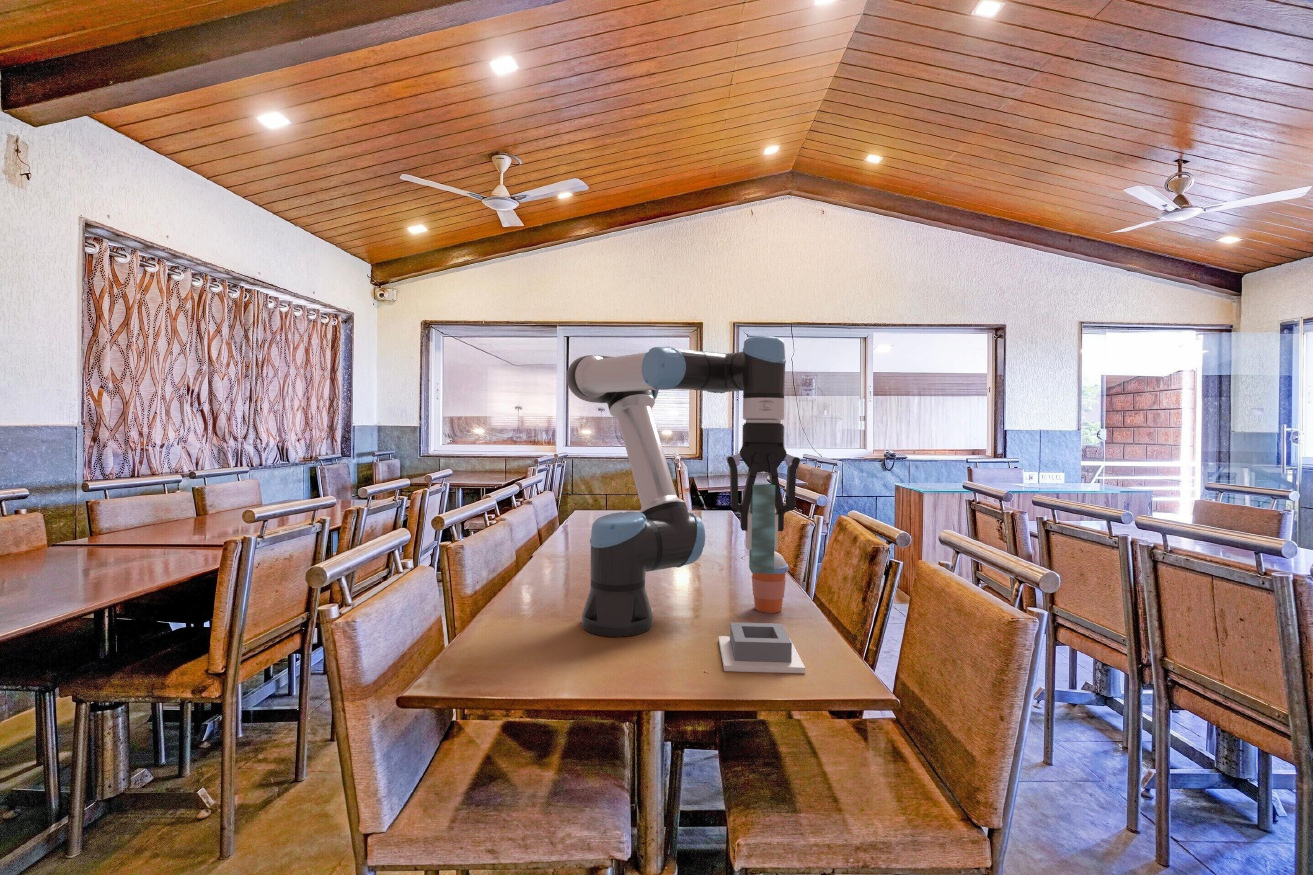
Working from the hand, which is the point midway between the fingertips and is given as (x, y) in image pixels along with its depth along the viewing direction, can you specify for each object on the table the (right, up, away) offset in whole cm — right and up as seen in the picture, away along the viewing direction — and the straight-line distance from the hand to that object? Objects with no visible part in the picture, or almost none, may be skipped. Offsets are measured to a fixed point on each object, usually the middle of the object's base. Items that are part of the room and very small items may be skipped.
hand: (761, 548), depth 107 cm
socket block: (0, -20, +1) cm, 20 cm away
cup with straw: (+7, -20, +28) cm, 35 cm away
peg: (0, -4, 0) cm, 4 cm away
